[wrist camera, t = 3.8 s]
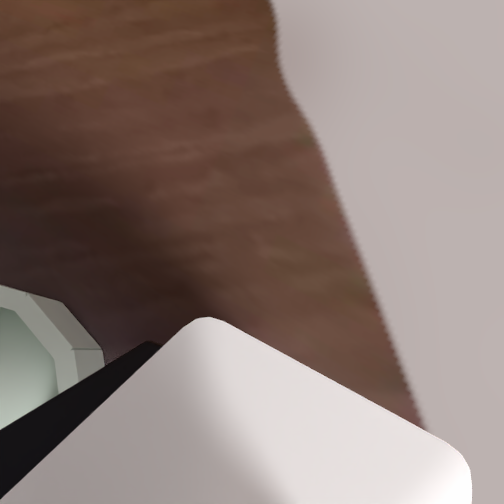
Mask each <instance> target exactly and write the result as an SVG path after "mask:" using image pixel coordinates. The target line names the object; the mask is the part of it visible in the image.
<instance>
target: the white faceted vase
mask: <svg viewBox="0 0 504 504" xmlns="http://www.w3.org/2000/svg"><path fill="white" fill-rule="evenodd" d="M0 504H472V482H471V475H470V469H469V467H468V465H467V463H466V461H465V460H464V458H463V456H462V454H461V453H459V452H458V451H457V450H455V449H454V448H453V447H452V446H450V445H449V444H448V443H446V442H445V441H443V440H441V439H439V438H437V437H435V436H434V435H432V434H430V433H428V432H426V431H425V430H423V429H421V428H419V427H417V426H415V425H414V424H412V423H410V422H408V421H406V420H404V419H402V418H401V417H399V416H397V415H395V414H393V413H391V412H390V411H388V410H386V409H384V408H382V407H380V406H379V405H377V404H375V403H373V402H371V401H369V400H368V399H366V398H364V397H362V396H360V395H358V394H357V393H355V392H353V391H351V390H349V389H347V388H346V387H344V386H342V385H340V384H338V383H336V382H335V381H333V380H331V379H329V378H327V377H325V376H323V375H322V374H320V373H318V372H316V371H314V370H312V369H311V368H309V367H307V366H305V365H303V364H301V363H300V362H298V361H296V360H294V359H292V358H290V357H289V356H287V355H285V354H283V353H281V352H279V351H278V350H276V349H274V348H272V347H270V346H268V345H267V344H265V343H263V342H261V341H259V340H257V339H256V338H254V337H252V336H250V335H248V334H246V333H244V332H243V331H241V330H239V329H237V328H235V327H233V326H232V325H230V324H228V323H226V322H224V321H221V320H218V319H215V318H212V317H205V318H198V319H195V320H194V321H192V322H191V323H189V324H188V325H186V326H185V327H183V328H182V329H181V330H180V331H179V332H178V333H177V334H176V335H175V336H173V337H172V338H171V339H170V340H169V341H168V342H167V343H166V344H165V345H164V346H163V347H162V348H161V349H160V350H159V351H158V352H156V353H155V354H154V355H153V356H152V357H151V358H150V359H149V360H148V361H147V362H146V363H145V364H144V365H143V366H142V367H141V368H140V369H138V370H137V371H136V372H135V373H134V374H133V375H132V376H131V377H130V378H129V379H128V380H127V381H126V382H125V383H124V384H123V385H121V386H120V387H119V388H118V389H117V390H116V391H115V392H114V393H113V394H112V395H111V396H110V397H109V398H108V399H107V400H106V401H104V402H103V403H102V404H101V405H100V406H99V407H98V408H97V409H96V410H95V411H94V412H93V413H92V414H91V415H90V416H89V417H88V418H86V419H85V420H84V421H83V422H82V423H81V424H80V425H79V426H78V427H77V428H76V429H75V430H74V431H73V432H72V433H71V434H69V435H68V436H67V437H66V438H65V439H64V440H63V441H62V442H61V443H60V444H59V445H58V446H57V447H56V448H55V449H54V450H53V451H51V452H50V453H49V454H48V455H47V456H46V457H45V458H44V459H43V460H42V461H41V462H40V463H39V464H38V465H37V466H36V467H34V468H33V469H32V470H31V471H30V472H29V473H28V474H27V475H26V476H25V477H24V478H23V479H22V480H21V481H20V482H19V483H17V484H16V485H15V486H14V487H13V488H12V489H11V490H10V491H9V492H8V493H7V494H6V495H5V496H4V497H3V498H2V499H1V500H0Z"/></svg>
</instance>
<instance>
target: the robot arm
mask: <svg viewBox="0 0 504 504" xmlns="http://www.w3.org/2000/svg"><path fill="white" fill-rule="evenodd" d="M163 346H164V345H162V344H159V343H156V342H153V341H146V342H144V343H142V344H140V345H139V346H137V347H136V348H134V349H132V350H131V351H129V352H127V353H126V354H124V355H122V356H121V357H119V358H117V359H116V360H114V361H112V362H111V363H109V364H108V365H106V366H104V367H103V368H101V369H99V370H98V371H96V372H94V373H93V374H91V375H89V376H88V377H86V378H84V379H83V380H81V381H80V382H78V383H76V384H75V385H73V386H71V387H70V388H68V389H66V390H65V391H63V392H61V393H60V394H58V395H56V396H55V397H53V398H52V399H50V400H48V401H47V402H45V403H43V404H42V405H40V406H38V407H37V408H35V409H33V410H32V411H30V412H28V413H27V414H25V415H24V416H22V417H20V418H19V419H17V420H15V421H14V422H12V423H10V424H9V425H7V426H5V427H4V428H2V429H0V500H1V499H2V498H3V497H4V496H5V495H6V494H7V493H8V492H9V491H10V490H11V489H12V488H13V487H14V486H15V485H16V484H17V483H19V482H20V481H21V480H22V479H23V478H24V477H25V476H26V475H27V474H28V473H29V472H30V471H31V470H32V469H33V468H34V467H36V466H37V465H38V464H39V463H40V462H41V461H42V460H43V459H44V458H45V457H46V456H47V455H48V454H49V453H50V452H51V451H53V450H54V449H55V448H56V447H57V446H58V445H59V444H60V443H61V442H62V441H63V440H64V439H65V438H66V437H67V436H68V435H69V434H71V433H72V432H73V431H74V430H75V429H76V428H77V427H78V426H79V425H80V424H81V423H82V422H83V421H84V420H85V419H86V418H88V417H89V416H90V415H91V414H92V413H93V412H94V411H95V410H96V409H97V408H98V407H99V406H100V405H101V404H102V403H103V402H104V401H106V400H107V399H108V398H109V397H110V396H111V395H112V394H113V393H114V392H115V391H116V390H117V389H118V388H119V387H120V386H121V385H123V384H124V383H125V382H126V381H127V380H128V379H129V378H130V377H131V376H132V375H133V374H134V373H135V372H136V371H137V370H138V369H140V368H141V367H142V366H143V365H144V364H145V363H146V362H147V361H148V360H149V359H150V358H151V357H152V356H153V355H154V354H155V353H156V352H158V351H159V350H160V349H161V348H162V347H163Z"/></svg>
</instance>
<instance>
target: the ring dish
mask: <svg viewBox="0 0 504 504" xmlns="http://www.w3.org/2000/svg"><path fill="white" fill-rule="evenodd" d="M100 349H101V347H100V346H99V345H98V344H97V343H96V341H95V340H94V339H93V338H92V337H91V336H90V334H89V333H88V332H87V331H86V330H85V329H84V327H83V326H82V325H81V324H80V323H79V322H78V320H77V319H76V318H75V317H74V316H73V315H72V313H71V312H70V311H69V310H68V309H67V308H66V306H65V305H64V304H63V303H61V302H60V301H56V300H53V299H49V298H46V297H42V296H39V295H35V294H32V293H28V292H25V291H22V290H18V289H15V288H11V287H8V286H4V285H0V429H2V428H4V427H5V426H7V425H9V424H10V423H12V422H14V421H15V420H17V419H19V418H20V417H22V416H24V415H25V414H27V413H28V412H30V411H32V410H33V409H35V408H37V407H38V406H40V405H42V404H43V403H45V402H47V401H48V400H50V399H52V398H53V397H55V396H56V395H58V394H60V393H61V392H63V391H65V390H66V389H68V388H70V387H71V386H73V385H75V384H76V383H78V382H80V381H81V380H83V379H84V378H86V377H88V376H89V375H91V374H93V373H94V372H96V371H98V370H99V369H101V368H103V367H104V366H105V364H104V358H103V352H102V350H100Z"/></svg>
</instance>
